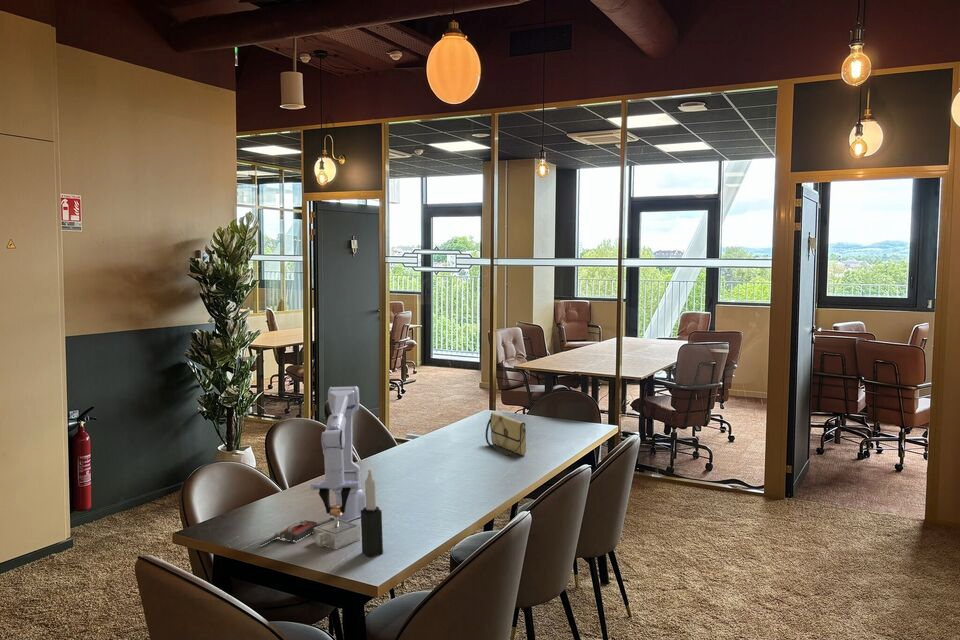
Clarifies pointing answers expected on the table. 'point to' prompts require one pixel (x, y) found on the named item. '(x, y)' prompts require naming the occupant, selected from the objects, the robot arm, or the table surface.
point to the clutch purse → (507, 433)
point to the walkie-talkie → (294, 531)
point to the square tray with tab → (336, 536)
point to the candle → (371, 521)
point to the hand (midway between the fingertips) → (336, 512)
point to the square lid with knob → (336, 521)
